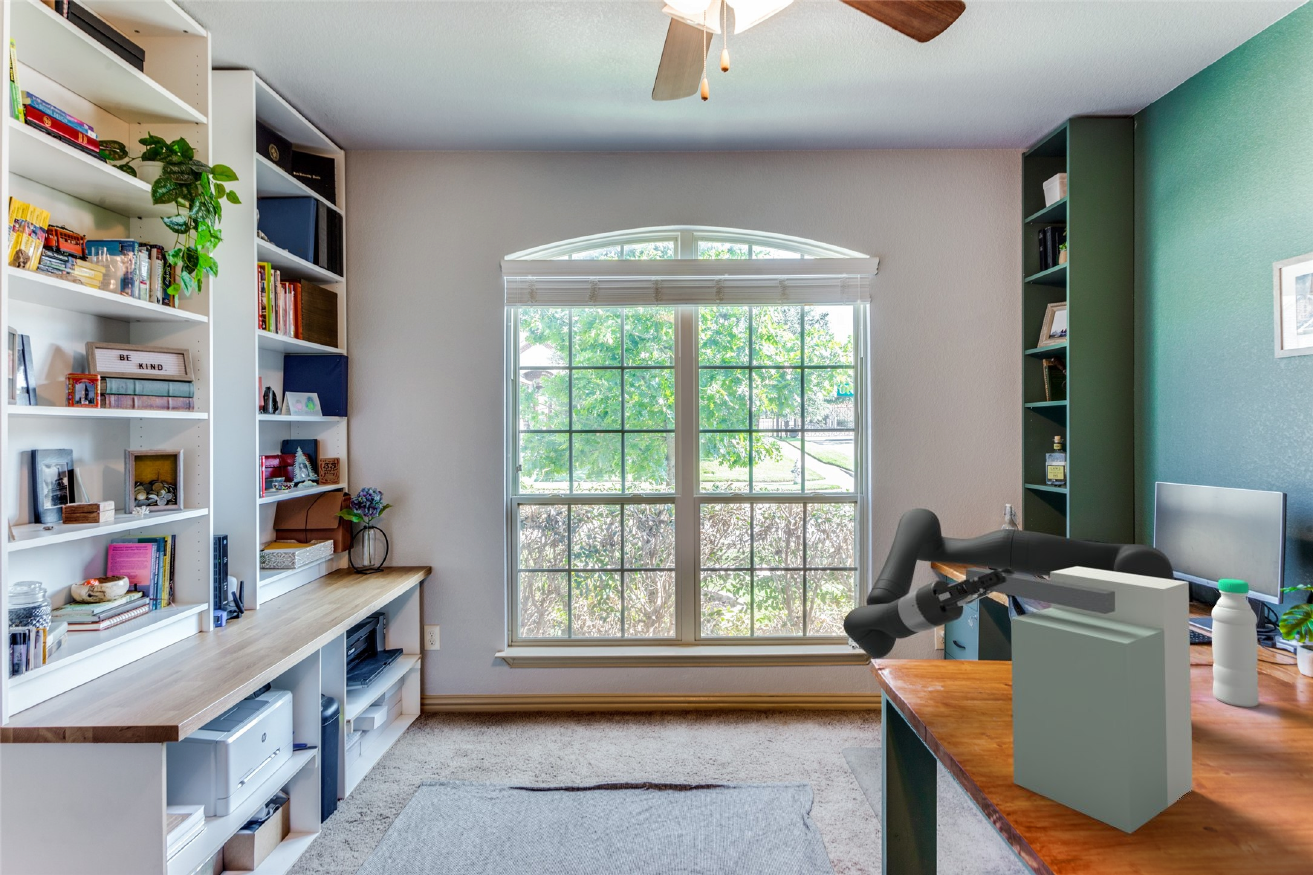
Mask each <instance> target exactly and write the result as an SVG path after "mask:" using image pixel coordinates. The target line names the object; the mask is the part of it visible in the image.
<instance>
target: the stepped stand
mask: <svg viewBox="0 0 1313 875" xmlns="http://www.w3.org/2000/svg"><path fill="white" fill-rule="evenodd" d="M1049 580H1053V581H1059V582H1064V583H1070V584H1076V585H1082V586H1088V587H1094V588H1099V589H1105V590H1111V591H1115V611H1114V612H1111V613H1107V614H1103V613H1098V612H1093V611H1088V610H1083V609H1078V608H1073V607H1068V606H1063V605H1058V604H1053V603H1050V607H1048V608H1044V609H1040V610H1036V611H1033V612H1028V613H1025V614H1022V615H1021V614H1020V615H1018V616H1014V617H1011V618H1010V621H1011V622H1010V624H1011V626H1010V627H1011V629H1010V631H1011V633H1010V634H1011V636H1010V637H1011V689H1012V690H1011V691H1012V692H1011V694H1012V698H1011V699H1012V703H1011V704H1012V753H1013V755H1012V756H1013V757H1012V758H1013V765H1012V766H1013V784H1015V785H1018V786H1020V787H1021V788H1022V787H1023V788H1025V789H1027V790H1029V791H1031V792H1033V793H1036V794H1038V795H1041V796H1042V797H1045V798H1047V799H1049V800H1052V801H1054V802H1056V803H1059V804H1061V805H1062V806H1066V807H1068V808H1070V809H1072V810H1075V811H1078V812H1079V813H1082V814H1083V815H1086V816H1088V817H1091V818H1093V819H1095V820H1098V821H1100V822H1102V823H1104V824H1107V825H1109V826H1111V827H1113V828H1117V829H1118V830H1120V831H1123V832H1125V833H1127V834H1130V835H1131V834H1132V833H1134V832H1135V831H1136V830H1138V829H1139V828H1141V827H1142V826H1143V825H1145V824H1146V823H1148V822H1150V821H1151V820H1152V819H1154V818H1156V817H1157V816H1158V815H1159V814H1161V813H1162V812H1164V811H1165V810H1166V809H1168V808H1169V807H1171V806H1172V805H1174V804H1175V803H1177V800H1178V801H1179V800H1180V799H1182V798H1183V797H1184V796H1183V795H1184V794H1186V793H1187V792H1189V791H1190V792H1192V791H1193V790H1192V789H1194V788H1193V787H1194V786H1193V782H1194V781H1193V744H1192V743H1193V742H1192V738H1193V737H1192V736H1193V734H1192V730H1193V729H1192V689H1191V688H1192V687H1191V644H1190V643H1191V642H1190V641H1191V640H1190V638H1191V636H1190V632H1191V631H1190V604H1189V603H1190V590H1189V588H1190V587H1189V583H1190V582H1189V581H1185V580H1184V581H1183V580H1177V579H1176V580H1175V579H1174V580H1170V579H1163V578H1156V577H1149V576H1142V575H1135V574H1128V573H1121V572H1114V571H1107V570H1099V569H1092V568H1085V567H1078V566H1076V567H1071V568H1067V569H1062V570H1057V571H1052V572H1050V576H1049ZM1191 790H1192V791H1191ZM1190 792H1189V793H1190ZM1186 795H1187V794H1186ZM1182 796H1183V797H1182ZM1181 797H1182V798H1181ZM1179 798H1180V799H1179ZM1160 812H1161V813H1160Z"/></svg>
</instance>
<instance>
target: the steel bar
mask: <svg viewBox="0 0 1313 875" xmlns="http://www.w3.org/2000/svg"><path fill="white" fill-rule="evenodd" d="M993 571H995V570H994V569H989V568H984V567H982V568H981V567H978V566H975V567H970V568H966V569H965V579H968V580H971V579H973V578H974V577H981V576H983V575H986V574H988V573H990V572H993ZM1001 573H1002V575H1003V577H1004V580H1005V581H1004V583H1001V584H999V585H996V586H994V587H991V588H989V589H986V590H988V591H993V592H992V593H999V594H1004V595H1007V596H1014V597H1018V598H1019V597H1020V598H1023V599H1028V600H1033V601H1038V602H1043V603H1049V604H1051V603H1053V604H1058V605H1063V606H1068V607H1073V608H1078V609H1083V610H1088V611H1093V612H1098V613H1103V614H1107V613H1111V612H1114V611H1115V591H1111V590H1105V589H1099V588H1094V587H1088V586H1082V585H1076V584H1070V583H1064V582H1059V581H1053V580H1050V579H1045V578H1042V577H1041V578H1040V577H1034V576H1028V575H1023V574H1019V573H1018V574H1017V573H1015V574H1011V573H1006V572H1001ZM979 579H980V578H979ZM984 589H985V588H984Z"/></svg>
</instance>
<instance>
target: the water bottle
mask: <svg viewBox="0 0 1313 875" xmlns="http://www.w3.org/2000/svg"><path fill="white" fill-rule="evenodd" d="M1217 588H1218V591H1219V593H1220V597H1219V599H1218V600H1217V601H1216V604H1215V606H1214V607H1213V608H1212V610H1211V618H1212V624H1211V626H1212V627H1211V628H1212V630H1211V641H1212V642H1211V646H1212V650H1211V651H1212V658H1213V665H1212V677H1213V684H1212V694H1213V696H1214V698H1215V699H1217V700H1218V701H1219V702H1222V703H1224V704H1227V705H1231V706H1234V707H1235V706H1237V707H1243V708H1252V707H1253V708H1254V707H1256V706H1258V705H1259V704H1260V699H1259V698H1260V697H1259V696H1260V695H1259V690H1258V686H1259V685H1258V684H1259V674H1258V669H1257V668H1258V659H1259V658H1258V654H1259V652H1258V634H1257V626H1256V625H1257V622H1258V617H1257V615H1256V613H1255V611H1254V610H1253V609H1252V606H1251V604H1250V602H1248V600H1247V596H1248V595H1249V591H1250V585H1249V583H1248V582H1247V581H1245V580H1241V579H1235V578H1234V579H1233V578H1221V579H1219V580H1218V582H1217Z"/></svg>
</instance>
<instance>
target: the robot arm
mask: <svg viewBox="0 0 1313 875" xmlns="http://www.w3.org/2000/svg"><path fill="white" fill-rule="evenodd" d="M918 561H921V562H929V563H930V562H931V563H943V564H946V563H947V564H957V565H958V564H959V565H969V566H975V567H980V568H981V567H982V568H987V569H989V568H990V569H995V570H994V571H993V572H990V573H988V574H986V575H983V576H981V577H974V578H973V579H971V580H968V579H966V578H965V579H962V580H960V581H957V582H954V583H949V582H948V581H946V580H943V579H938V580H935V581H932V582H930V583H928V584H925V585H923V586H921V587H919V588H917V589H915V590H914V589H913V590H912V591H910V590H911V589H912V588H911V587H912V583H913V579H914V574H915V570H916V566H917V562H918ZM1076 566H1078V567H1085V568H1092V569H1099V570H1107V571H1114V572H1121V573H1128V574H1135V575H1142V576H1149V577H1156V578H1163V579H1170V580H1175V578H1174V577H1175V576H1174V569H1173V567H1172V564H1171V562H1170V559H1169V557H1168V556H1166V554H1165V553H1164V552H1162V551H1161V550H1159V549H1158V548H1156V547H1154V546H1150V545H1147V544H1137V543H1136V544H1135V543H1134V544H1133V543H1132V544H1131V543H1126V544H1125V543H1107V542H1105V543H1104V542H1093V541H1087V540H1086V541H1084V540H1080V539H1074V538H1070V537H1065V536H1061V535H1055V534H1048V533H1043V532H1038V531H1029V530H1022V529H1015V528H1014V529H1013V528H1003V529H998V530H993V531H991V532H988V533H985V534H982V535H980V536H976V537H972V538H954V537H947V536H943V535H942V528H941V522H940V520H939V518H938V515H936V514H935V512H933V511H931V510H930V509H927V508H922V507H921V508H913V509H909V510H908V511H906V512H904V513H903V514H902V516H901V517H900V519H899V520H898V525H897V529H896V532H895V536H894V539H893V541H892V544H891V547H890V550H889V553H888V556H887V558H886V560H885V562H884V565H883V567H882V569H881V571H880V573H879V575H878V577H877V578H876V581H875V582H874V584H873V586H872V588H871V590H870V592H869V593H868V596H867V598H866V602H865V603H866V605H861V606H859V607H855V608H853V609H852V610H851V611H849V612H848V613H847V614H846V615H845V617H844V620H843V623H842V624H843V625H842V626H843V630H844V632H845V634H846V635H847V637H849V638H850V639H851V640H852V641H853V642H854V643H855V644H856V645H857V646H858V647H859V648H860V649H862V651H864V653H866V654H867V655H868V656H870V657H872V658H873V659H881V658H884V657H886V656H887V655H888V654H890V652H891V651H892V650H893V648H894V646H895V643H896V641H897V639H899V640H901V639H902V640H903V639H906V638H908V637H909V638H910V636H913V635H916V634H919V633H922V632H927V631H931V630H933V629H936V628H938V627H941V626H944V625H946V624H948V623H949V624H950V623H952V622H954V621H958V620H959V619H960V618H962V616H963V614H964V606H965V605H966V606H967V605H970V604H974V603H976V601H977V600H980V599H982V598H984V597H987V596H989V595H990V594H993V593H994V592H993V591H988V590H986V589H989V588H991V587H994V586H996V585H999V584H1001V583H1004V581H1005V580H1004V577H1003V575H1002V573H1001V572H1006V573H1011V574H1017V573H1018V574H1022V575H1023V574H1024V575H1032V576H1038V577H1039V576H1040V577H1041V576H1043V577H1050V572H1052V571H1057V570H1062V569H1067V568H1071V567H1076ZM979 578H980V579H979ZM984 588H985V589H984Z"/></svg>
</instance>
